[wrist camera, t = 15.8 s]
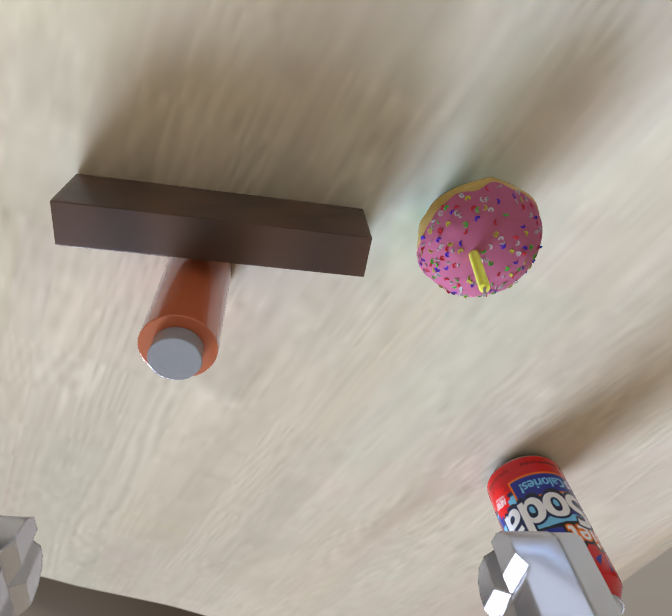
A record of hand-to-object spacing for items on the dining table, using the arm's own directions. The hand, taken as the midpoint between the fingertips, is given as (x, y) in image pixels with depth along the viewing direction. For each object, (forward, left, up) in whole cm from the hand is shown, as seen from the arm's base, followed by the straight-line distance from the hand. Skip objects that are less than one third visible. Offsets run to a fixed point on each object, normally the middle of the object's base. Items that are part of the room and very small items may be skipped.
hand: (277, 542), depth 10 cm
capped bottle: (+5, +12, -31) cm, 34 cm away
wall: (+3, +7, -31) cm, 32 cm away
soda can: (-29, +33, -31) cm, 54 cm away
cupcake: (-14, +5, -31) cm, 35 cm away
